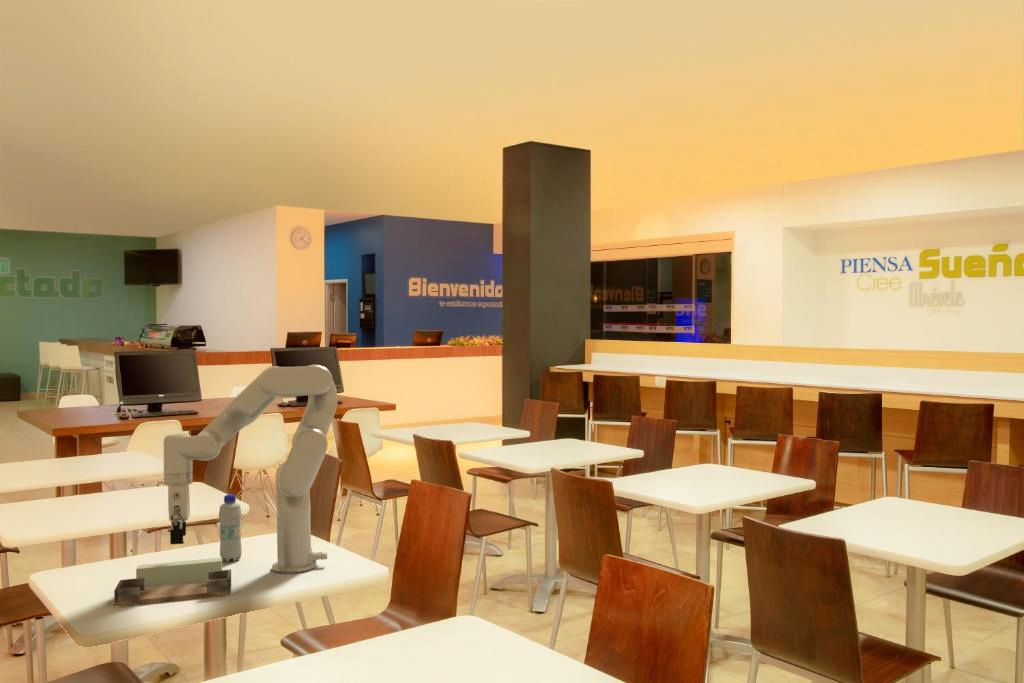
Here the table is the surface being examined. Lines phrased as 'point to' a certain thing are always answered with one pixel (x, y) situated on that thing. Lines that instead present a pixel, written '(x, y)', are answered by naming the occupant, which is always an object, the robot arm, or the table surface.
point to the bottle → (230, 529)
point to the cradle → (172, 590)
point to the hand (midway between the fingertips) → (178, 539)
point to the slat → (177, 571)
